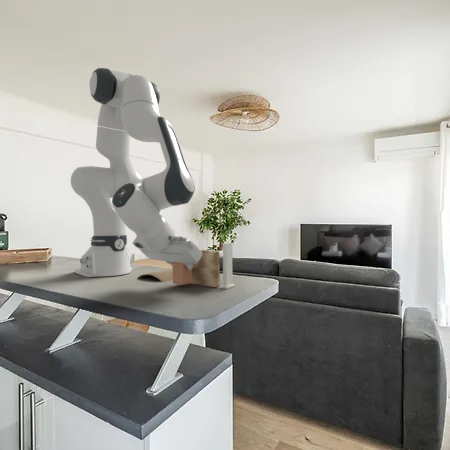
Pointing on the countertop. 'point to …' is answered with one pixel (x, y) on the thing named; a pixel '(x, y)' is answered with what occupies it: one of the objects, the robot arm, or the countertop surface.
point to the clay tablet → (161, 275)
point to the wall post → (227, 266)
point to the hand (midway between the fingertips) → (183, 267)
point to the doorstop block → (181, 274)
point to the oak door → (207, 269)
